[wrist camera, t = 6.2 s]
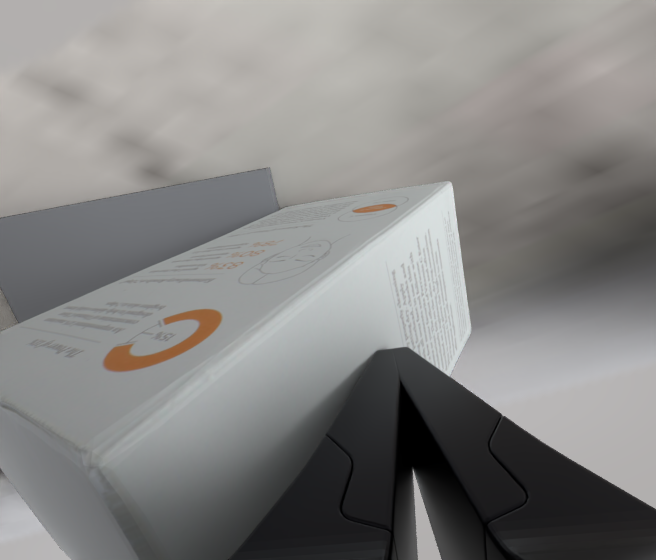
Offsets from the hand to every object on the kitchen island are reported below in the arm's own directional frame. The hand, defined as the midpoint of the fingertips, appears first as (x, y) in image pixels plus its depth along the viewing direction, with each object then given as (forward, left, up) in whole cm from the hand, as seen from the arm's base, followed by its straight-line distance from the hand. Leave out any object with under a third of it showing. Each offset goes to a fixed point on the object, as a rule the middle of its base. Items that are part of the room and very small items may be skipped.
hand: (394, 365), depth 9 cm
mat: (+12, +1, -10) cm, 16 cm away
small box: (0, 0, -8) cm, 8 cm away
